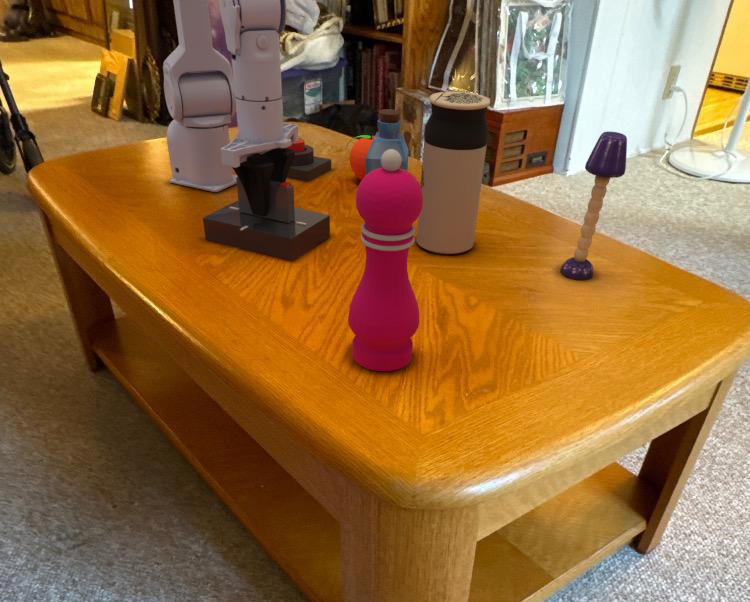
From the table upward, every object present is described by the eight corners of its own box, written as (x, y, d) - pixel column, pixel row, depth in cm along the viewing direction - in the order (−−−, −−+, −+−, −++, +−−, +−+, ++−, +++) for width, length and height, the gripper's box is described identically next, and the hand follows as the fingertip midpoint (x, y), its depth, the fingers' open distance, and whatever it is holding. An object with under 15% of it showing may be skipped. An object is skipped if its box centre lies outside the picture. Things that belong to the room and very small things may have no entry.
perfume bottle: (406, 190, 111) (411, 108, 103) (403, 203, 107) (408, 118, 99) (368, 188, 112) (371, 105, 104) (364, 200, 107) (366, 115, 99)
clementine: (336, 182, 113) (336, 136, 108) (353, 171, 118) (354, 126, 113) (381, 190, 111) (382, 143, 106) (396, 178, 116) (398, 132, 111)
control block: (257, 171, 116) (256, 149, 114) (283, 160, 121) (281, 138, 119) (307, 182, 113) (307, 159, 111) (331, 169, 118) (331, 148, 116)
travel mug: (480, 240, 96) (500, 96, 84) (461, 260, 91) (480, 108, 79) (428, 229, 99) (441, 88, 87) (407, 248, 93) (417, 99, 81)
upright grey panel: (239, 212, 93) (235, 175, 90) (245, 208, 94) (242, 172, 91) (288, 223, 90) (287, 186, 87) (295, 219, 91) (293, 182, 88)
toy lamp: (598, 270, 90) (635, 131, 79) (595, 284, 87) (633, 141, 75) (562, 264, 91) (593, 126, 80) (557, 277, 88) (589, 136, 76)
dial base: (200, 242, 92) (197, 218, 90) (251, 215, 100) (249, 193, 98) (287, 264, 88) (286, 240, 86) (333, 234, 96) (333, 211, 94)
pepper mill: (345, 339, 74) (347, 137, 60) (411, 339, 74) (427, 138, 61) (349, 375, 68) (352, 161, 55) (420, 374, 69) (440, 162, 55)
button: (279, 152, 114) (278, 140, 113) (290, 147, 117) (290, 136, 116) (297, 155, 113) (297, 144, 112) (308, 150, 116) (308, 139, 115)
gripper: (252, 113, 76) (261, 233, 86) (317, 90, 86) (319, 200, 95) (201, 104, 79) (215, 222, 88) (270, 83, 88) (276, 191, 98)
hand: (266, 210), depth 92 cm, fingers open, 3 cm apart
